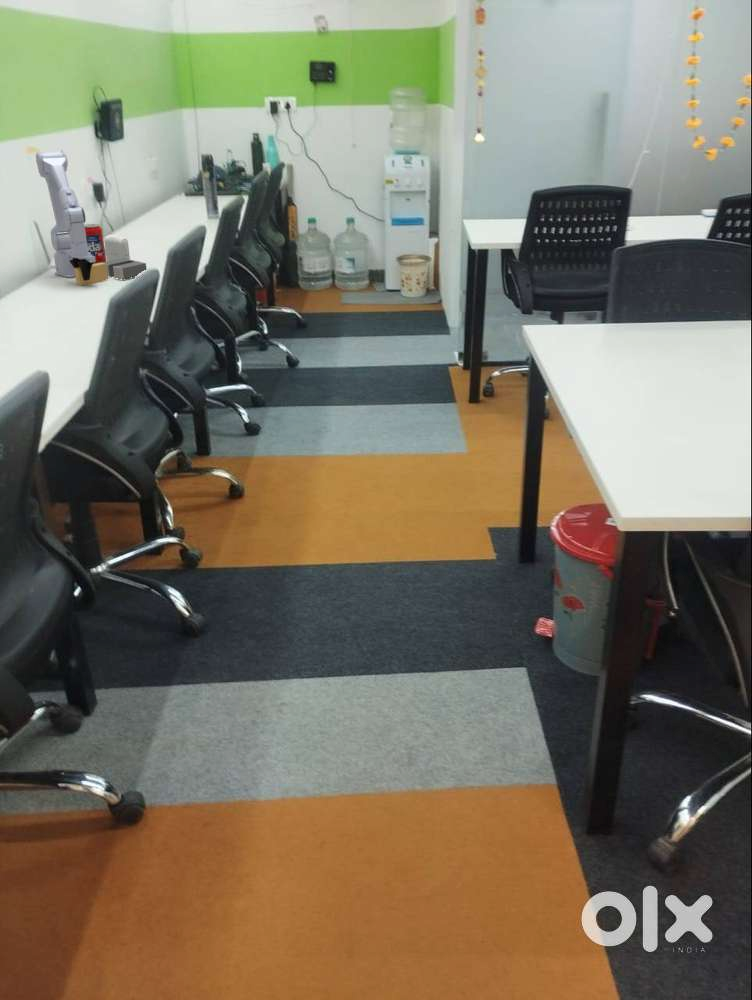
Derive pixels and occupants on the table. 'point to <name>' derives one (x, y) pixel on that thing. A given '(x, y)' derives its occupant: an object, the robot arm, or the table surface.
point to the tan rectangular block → (92, 274)
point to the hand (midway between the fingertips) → (84, 279)
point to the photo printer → (116, 247)
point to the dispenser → (124, 268)
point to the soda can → (95, 242)
